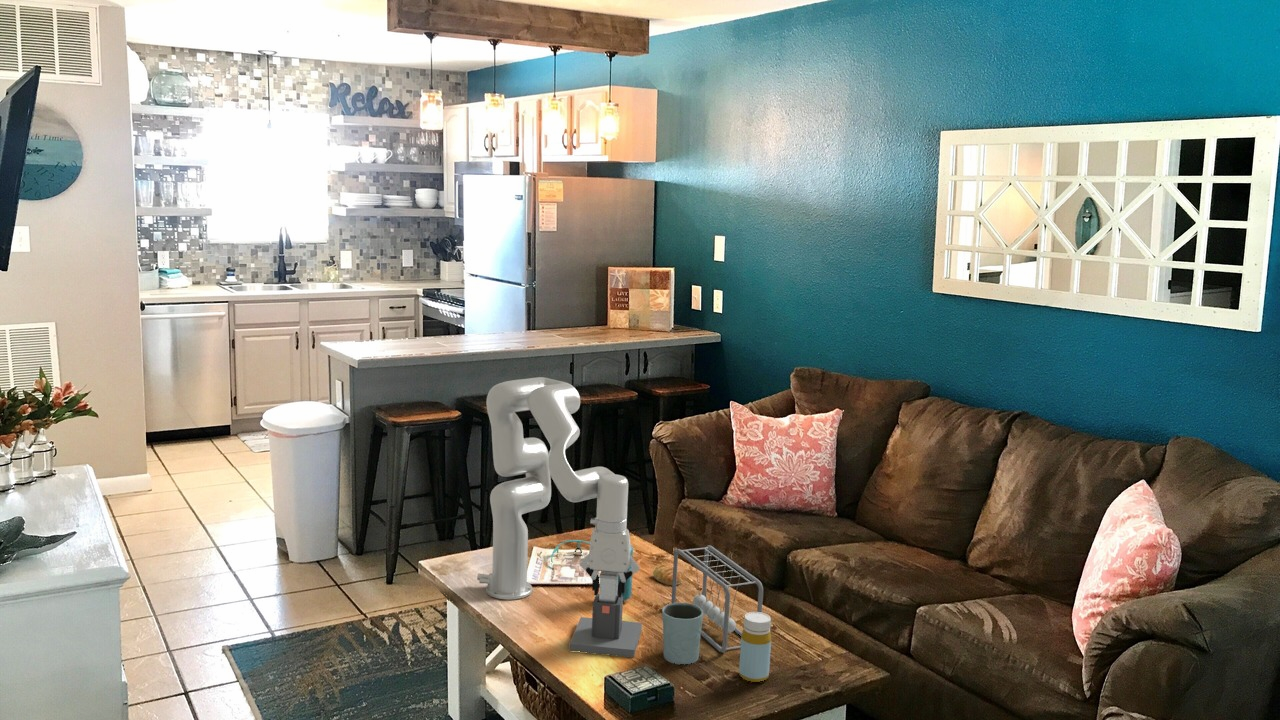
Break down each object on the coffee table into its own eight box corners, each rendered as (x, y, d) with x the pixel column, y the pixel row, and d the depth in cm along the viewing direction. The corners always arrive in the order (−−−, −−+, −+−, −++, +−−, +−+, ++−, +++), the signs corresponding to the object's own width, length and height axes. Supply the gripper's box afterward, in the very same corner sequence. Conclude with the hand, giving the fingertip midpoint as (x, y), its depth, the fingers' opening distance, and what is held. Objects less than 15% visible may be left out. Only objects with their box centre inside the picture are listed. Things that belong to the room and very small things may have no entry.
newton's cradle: (670, 608, 286) (673, 546, 283) (704, 603, 290) (708, 542, 287) (723, 656, 259) (727, 588, 256) (759, 650, 263) (764, 583, 260)
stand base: (569, 651, 257) (570, 609, 255) (580, 624, 273) (581, 584, 271) (634, 657, 256) (636, 615, 254) (641, 629, 271) (643, 589, 269)
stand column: (597, 632, 262) (599, 575, 259) (599, 624, 266) (602, 568, 263) (614, 633, 262) (616, 576, 259) (616, 626, 266) (618, 570, 263)
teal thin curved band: (601, 556, 323) (601, 541, 321) (594, 579, 308) (594, 563, 307) (556, 552, 324) (556, 537, 322) (547, 575, 310) (547, 560, 308)
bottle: (736, 669, 252) (740, 610, 249) (765, 669, 252) (769, 611, 250) (741, 683, 245) (745, 623, 242) (771, 683, 246) (775, 623, 243)
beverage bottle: (632, 597, 292) (635, 528, 288) (630, 607, 285) (633, 536, 282) (609, 595, 292) (612, 526, 289) (606, 605, 286) (609, 534, 282)
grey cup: (687, 670, 251) (690, 622, 249) (651, 658, 256) (654, 611, 254) (708, 654, 259) (710, 608, 257) (672, 643, 264) (675, 598, 262)
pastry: (687, 584, 303) (688, 572, 303) (668, 589, 300) (669, 576, 299) (668, 573, 311) (669, 561, 310) (650, 578, 307) (650, 565, 307)
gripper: (574, 527, 256) (571, 597, 259) (644, 532, 254) (640, 603, 258) (579, 517, 264) (577, 585, 267) (647, 522, 262) (644, 591, 265)
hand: (608, 593), depth 262 cm, fingers open, 5 cm apart
